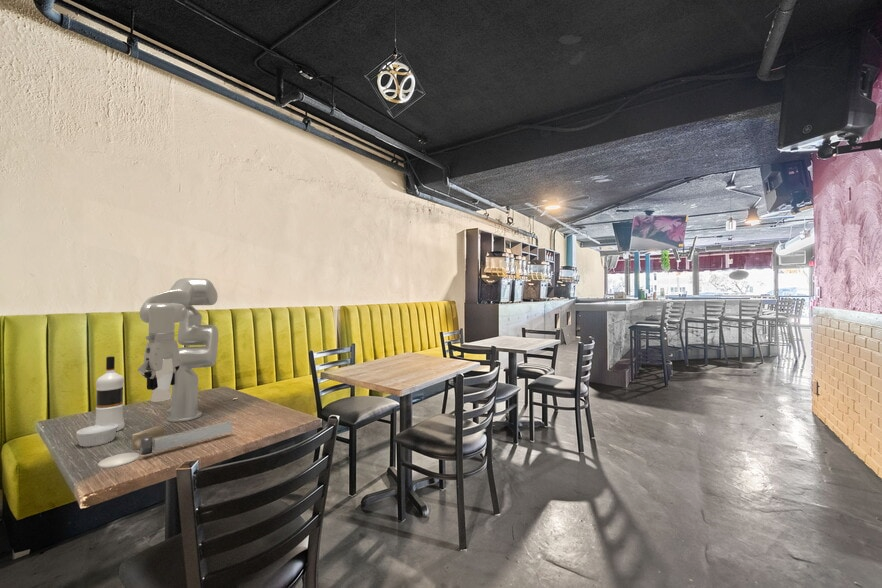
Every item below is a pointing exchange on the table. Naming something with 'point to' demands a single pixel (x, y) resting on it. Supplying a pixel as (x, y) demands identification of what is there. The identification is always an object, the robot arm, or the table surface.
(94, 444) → the ramekin
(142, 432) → the block
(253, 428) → the table surface
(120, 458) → the white disc
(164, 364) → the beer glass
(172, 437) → the bar
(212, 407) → the table surface
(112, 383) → the vodka
